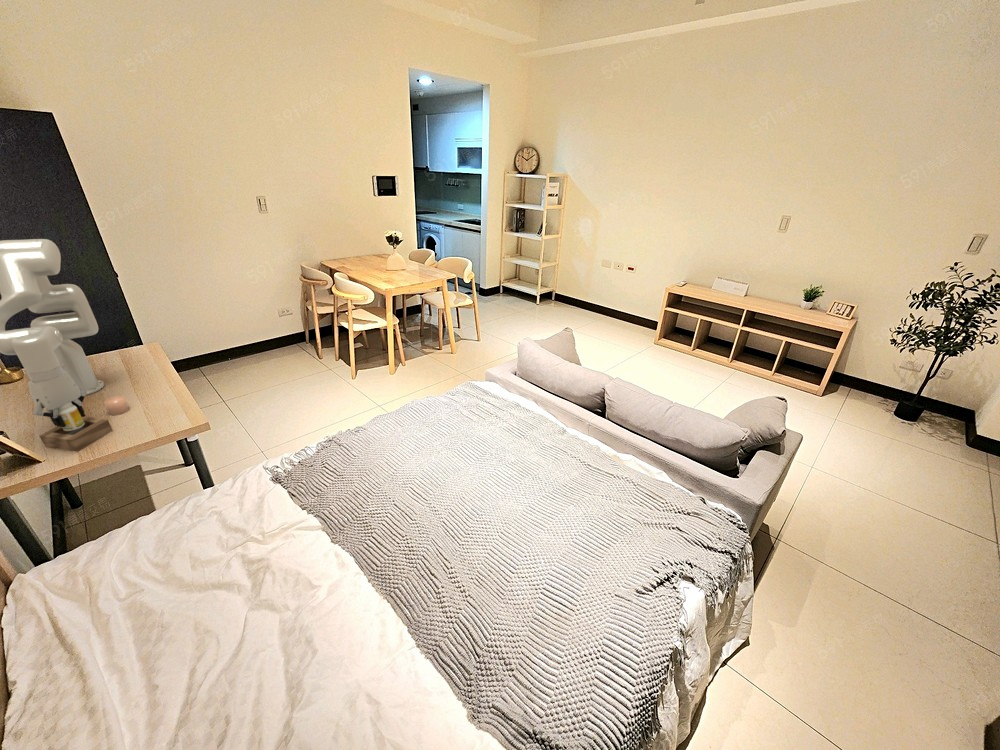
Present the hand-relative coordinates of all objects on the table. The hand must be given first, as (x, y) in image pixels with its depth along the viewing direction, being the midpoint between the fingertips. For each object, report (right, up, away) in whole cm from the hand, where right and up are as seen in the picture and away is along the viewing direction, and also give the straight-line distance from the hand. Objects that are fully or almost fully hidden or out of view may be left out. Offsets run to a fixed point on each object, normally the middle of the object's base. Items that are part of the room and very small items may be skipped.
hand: (70, 420), depth 137 cm
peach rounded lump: (-1, +2, +19) cm, 19 cm away
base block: (-1, -7, +4) cm, 8 cm away
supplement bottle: (0, -2, +1) cm, 3 cm away
